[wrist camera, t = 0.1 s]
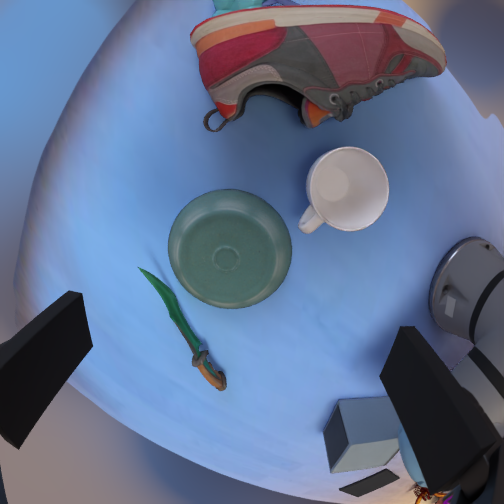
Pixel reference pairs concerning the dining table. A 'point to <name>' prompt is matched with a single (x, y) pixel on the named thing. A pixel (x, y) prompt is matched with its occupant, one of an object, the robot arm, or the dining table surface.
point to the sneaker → (310, 57)
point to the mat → (370, 483)
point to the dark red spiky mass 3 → (424, 492)
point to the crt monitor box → (361, 434)
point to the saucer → (229, 249)
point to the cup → (345, 190)
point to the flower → (245, 5)
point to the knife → (187, 334)
